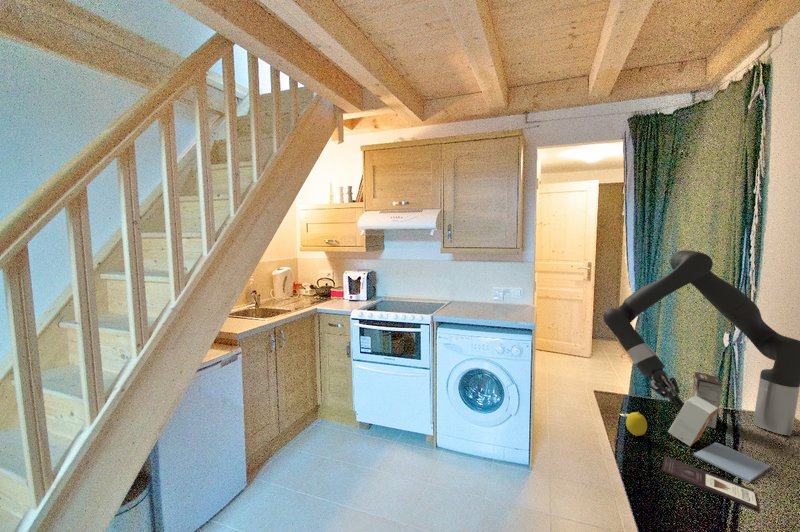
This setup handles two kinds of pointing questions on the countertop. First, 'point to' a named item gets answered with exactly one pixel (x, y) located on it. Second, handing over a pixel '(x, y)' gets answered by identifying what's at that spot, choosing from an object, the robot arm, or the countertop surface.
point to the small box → (692, 420)
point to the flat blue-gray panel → (732, 461)
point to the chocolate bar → (710, 482)
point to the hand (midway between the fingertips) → (682, 408)
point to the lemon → (636, 423)
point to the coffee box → (708, 392)
